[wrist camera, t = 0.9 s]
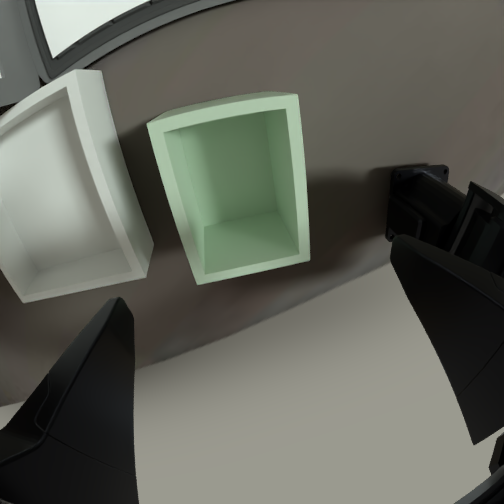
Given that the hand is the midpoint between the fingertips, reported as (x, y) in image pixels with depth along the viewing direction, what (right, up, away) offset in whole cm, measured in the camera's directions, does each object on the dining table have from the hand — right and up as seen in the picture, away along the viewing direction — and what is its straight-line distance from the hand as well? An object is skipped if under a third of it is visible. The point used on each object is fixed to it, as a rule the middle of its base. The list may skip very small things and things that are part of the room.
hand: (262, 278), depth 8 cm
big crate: (-15, +5, +8) cm, 18 cm away
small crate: (-2, +7, +9) cm, 12 cm away
